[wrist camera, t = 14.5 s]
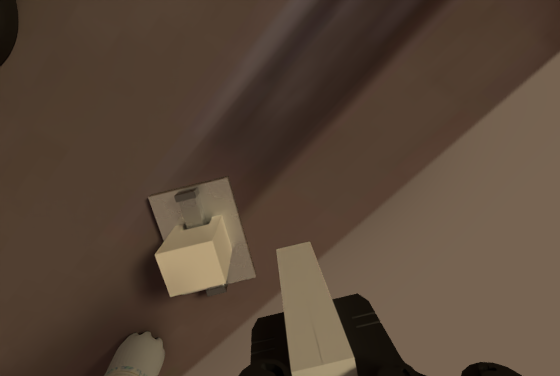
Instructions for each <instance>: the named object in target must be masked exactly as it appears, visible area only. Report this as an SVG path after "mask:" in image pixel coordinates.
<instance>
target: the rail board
mask: <svg viewBox="0 0 560 376" xmlns="http://www.w3.org/2000/svg"><path fill="white" fill-rule="evenodd" d="M148 199H149V202H150V204H151V207H152V210H153V213H154V215H155V218H156V221H157V224H158V227H159V229H160V232H161V235H162V238H163V240H164V241H165V239H166V238H167V237H168V235H169V234H170V233H171V231H172V230H173V228H174V227H175V226H178V225H182V224H185V227H186V230H187V229H191V228H195V227H199V226H203V225H207V224H209V223H210V221H211V219H212V217H214V216H219V215H222V218H223V221H224V224H225V228H226V231H227V235H228V238H229V241H230V245H231V248H232V254H231V259H230V264H229V269H228V275H227V280H226V283H225V284H221V285H217V286H213V287H209V288H205V289H201V290H197V291H193V292H189V293H185V294H183V295H186V294H190V293H194V292H198V291H202V290H206V293H207V296H212V295H216V294H220V293H224V292H226V291H227V285H228V284H230V283H234V282H238V281H242V280H246V279H250V278H254V277H256V270H255V267H254V263H253V260H252V256H251V253H250V249H249V246H248V242H247V239H246V235H245V232H244V228H243V225H242V221H241V218H240V214H239V211H238V207H237V204H236V200H235V197H234V193H233V190H232V186H231V183H230V179H229V176H225V177H221V178H217V179H213V180H209V181H205V182H201V183H197V184H193V185H188V186H184V187H180V188H176V189H172V190H168V191H164V192H160V193H156V194H152V195H150V196H149V197H148Z"/></svg>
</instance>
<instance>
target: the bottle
mask: <svg viewBox="0 0 560 376" xmlns="http://www.w3.org/2000/svg"><path fill="white" fill-rule="evenodd" d="M164 357H165V350H164V349H163V342H162V340H161V338H159V337H158V338H156V339H154V338H153V337H152V336H151V332H148V331H146V332H144V333H143V334H141V335H139V334H138V333H133V334H131V335H130V336H129V337H127V339H126V340H125V341H124V342H123V343H122V344H121V345H120V346H119V348H118V349H117V351H116V353H115V355H114V357H113V359H112V361H111V363H110V365H109V367H108V369H107V371H106V373H105V375H104V376H158V374H159V371H160V369H161V367H162V364H163V361H164Z"/></svg>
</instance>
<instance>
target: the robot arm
mask: <svg viewBox="0 0 560 376" xmlns="http://www.w3.org/2000/svg"><path fill="white" fill-rule="evenodd" d="M17 29H18V11H17V4H16V0H0V64H1V63H2V62H3V61H4V60H5V59H6V58H7V56H8V55H9V53H10V51H11V50H12V48H13V45H14V42H15V39H16V35H17ZM276 251H277V259H278V267H279V276H280V284H281V292H282V300H283V309H284V312H282V313H278V314H274V315H270V316H266V317H262V318H258V319H257V321H256V323H255V325H254V327H253V329H252V338H251V342H252V345H251V364H250V365H249V366H248V367H246V368H245V369H244V370H242V372H241V373H240V375H239V376H426V375H423V374H420V373H418V372H416V371H415V370H414V369H413V368H412V367H411V366H409V365H407V364H406V363H405V362H404V361H403V360H402V358H401V357H400V355H399V354H398V352H397V350H396V348H395V346H394V345H393V343H392V341H391V339H390V338H389V336H388V334H387V333H386V331H385V329H384V328H383V326H382V324H381V323H380V320H379V319H378V317H377V315H376V314H375V311H374V310H373V308H372V306H371V304H370V303H369V301H368V300H366V299H365V298H363V297H362V296H360V295H359V294H354V295H349V296H345V297H341V298H337V299H332V298H331V296H330V293H329V290H328V288H327V285H326V282H325V280H324V277H323V275H322V272H321V269H320V267H319V264H318V262H317V259H316V256H315V254H314V251H313V249H312V246H311V243H310V242H306V243H301V244H297V245H293V246H289V247H284V248H280V249H276ZM461 376H522V375H520V374H518V373H516V372H515V371H513V370H511V369H509V368H508V367H505V366H502V365H499V364H495V363H487V362H479V363H475V364H472V365H469V366H468V367H467V368H466V369H465V370H463V371H462V375H461Z"/></svg>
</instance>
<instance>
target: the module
mask: <svg viewBox="0 0 560 376" xmlns="http://www.w3.org/2000/svg"><path fill="white" fill-rule="evenodd" d="M231 254H232V248H231V245H230V241H229V238H228V235H227V231H226V228H225V224H224V221H223V218H222V215H219V216H214V217H212V219H211V221H210V223H209V224H207V225H203V226H199V227H195V228H191V229H187V230H186V227H185V224H182V225H178V226H175V227H174V228H173V230H172V231H171V233H170V234H169V235H168V237H167V238H166V239H165V241H164V242H163V244H162V245H161V246H160V248H159V249H158V251H157V252H156V253H155V257H156V260H157V263H158V266H159V268H160V271H161V274H162V276H163V279H164V282H165V284H166V287H167V290H168V292H169V295H170V297H172V296H176V295H180V294H185V293H189V292H193V291H197V290H201V289H205V288H209V287H213V286H217V285H221V284H225V283H226V280H227V275H228V269H229V264H230V259H231Z"/></svg>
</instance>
